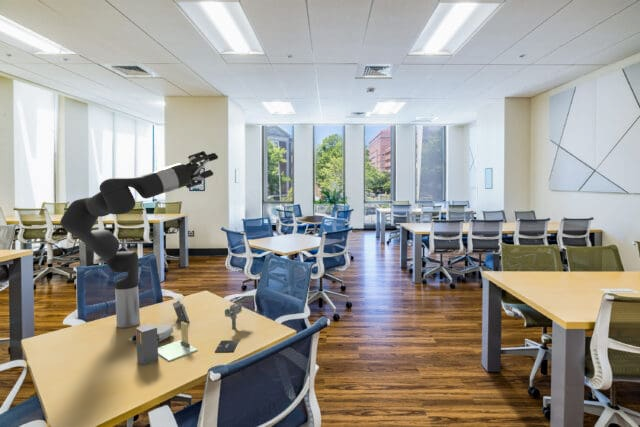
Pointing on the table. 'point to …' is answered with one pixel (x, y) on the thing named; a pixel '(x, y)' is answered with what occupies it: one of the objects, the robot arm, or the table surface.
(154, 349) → the plug block
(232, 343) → the solid state drive
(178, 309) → the electrical switch
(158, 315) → the table surface
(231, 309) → the mechanical component
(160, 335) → the robot toy
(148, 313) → the table surface
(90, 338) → the table surface
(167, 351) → the board
